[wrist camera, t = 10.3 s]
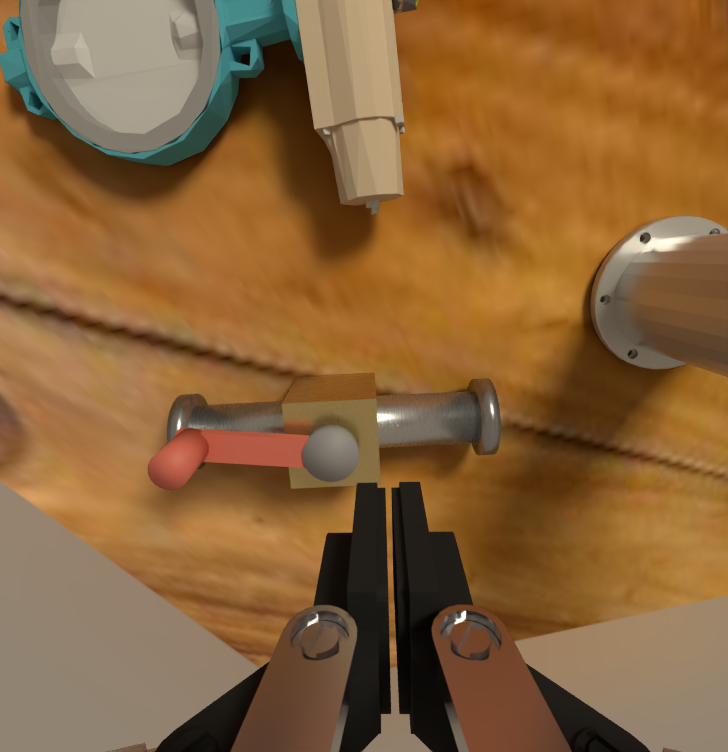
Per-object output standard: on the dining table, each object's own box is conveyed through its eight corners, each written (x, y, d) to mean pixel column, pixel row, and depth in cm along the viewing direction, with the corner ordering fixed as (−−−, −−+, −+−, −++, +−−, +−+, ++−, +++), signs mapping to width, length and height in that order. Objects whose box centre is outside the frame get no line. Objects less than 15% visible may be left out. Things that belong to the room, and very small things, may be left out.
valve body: (480, 366, 39) (508, 394, 32) (479, 439, 41) (505, 481, 33) (192, 382, 40) (150, 412, 32) (204, 453, 42) (167, 498, 34)
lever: (360, 426, 32) (359, 454, 27) (356, 475, 33) (355, 510, 29) (177, 414, 32) (145, 441, 27) (179, 464, 33) (149, 498, 28)
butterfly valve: (98, 257, 40) (434, 209, 35) (35, 258, 33) (438, 200, 29) (-2, -112, 33) (400, -227, 28) (-107, -204, 26) (394, -372, 22)
